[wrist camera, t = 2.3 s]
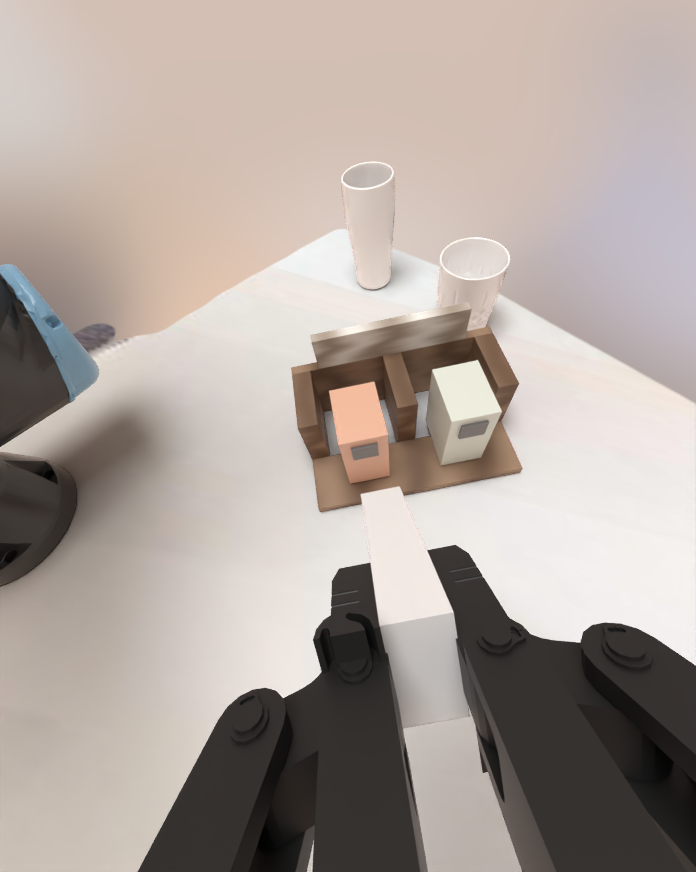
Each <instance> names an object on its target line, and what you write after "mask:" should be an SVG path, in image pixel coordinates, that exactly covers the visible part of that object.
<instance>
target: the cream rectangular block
mask: <svg viewBox="0 0 696 872" xmlns="http://www.w3.org/2000/svg"><path fill="white" fill-rule="evenodd" d="M501 413H502V411H501V408H500V406H499V404H498V402H497V400H496V398H495V396H494V393H493V391H492V389H491V387H490V385H489V383H488V381H487V378H486V376H485V374H484V372H483V370H482V368H481V366H480V363H479V361H478V360H476V361H472V362H467V363H462V364H457V365H452V366H447V367H442V368H438V369H433V370H432V375H431V383H430V390H429V398H428V406H427V414H426V423H427V426H428V429H429V432H430V435H431V438H432V441H433V444H434V447H435V450H436V453H437V456H438V459H439V462H440V465H441V466H442V465H447V464H452V463H457V462H462V461H467V460H472V459H477V458H481V456H482V454H483V452H484V450H485V448H486V445H487V443H488V441H489V439H490V437H491V435H492V432H493V430H494V428H495V426H496V424H497V422H498V419H499V417H500V415H501Z"/></svg>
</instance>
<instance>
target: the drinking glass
mask: <svg viewBox="0 0 696 872" xmlns="http://www.w3.org/2000/svg"><path fill="white" fill-rule="evenodd" d="M341 185H342V197H343V205H344V212H345V218H346V223H347V228H348V233H349V238H350V242H351V247H352V252H353V257H354V262H355V267H356V274H357V280H358V283H359V284H360V285H361V286H362V287H364V288H366V289H379V288H381V287H383V286H385V285H386V284H387V283H388V282H389V280H390V278H391V255H392V241H393V227H394V215H395V180H394V170H393V168H392V167H391V166H389V165H388V164H385V163H381V162H365V163H360V164H357V165H354V166H352V167H350V168H349V169H347V170H346V171H345V172H344V173H343V175H342V177H341Z"/></svg>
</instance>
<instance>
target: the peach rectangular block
mask: <svg viewBox="0 0 696 872" xmlns="http://www.w3.org/2000/svg"><path fill="white" fill-rule="evenodd" d="M329 393H330V399H331V405H332V411H333V417H334V422H335V428H336V434H337V440H338V445H339V449H340V452H341V455H342V459H343V462H344V465H345V469H346V472H347V475H348V479H349V482H350V484H352V483H357V482H362V481H367V480H372V479H377V478H382V477H387V476H390V468H389V446H388V433H387V429H386V425H385V421H384V417H383V413H382V410H381V406H380V402H379V398H378V394H377V390H376V386H375V382H370V383H365V384H360V385H355V386H350V387H345V388H340V389H336V390H331V391H329Z"/></svg>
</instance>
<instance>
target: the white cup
mask: <svg viewBox="0 0 696 872" xmlns="http://www.w3.org/2000/svg"><path fill="white" fill-rule="evenodd" d="M509 263H510V255H509V252H508V250H507V249H506V248H505V247H504V246H503V245H501V244H500V243H498V242H496V241H493V240H490V239H486V238H465V239H460V240H457V241H455V242H453V243H451V244H449V245H448V246H446V247H445V248H444V250H443V251H442V252H441V255H440V264H439V279H438V300H437V309H438V308H443V307H447V306H452V305H457V304H462V303H467V302H469V304H470V306H471V308H472V310H471V314H470V319H469V323H468V328H467V331H470V330H475V329H480V328H484V327H486V324H487V321H488V319H489V316H490V314H491V313H492V311H493V308H494V305H495V303H496V299H497V297H498V295H499V292H500V289H501V286H502V283H503V280H504V277H505V274H506V272H507V269H508V266H509Z"/></svg>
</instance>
